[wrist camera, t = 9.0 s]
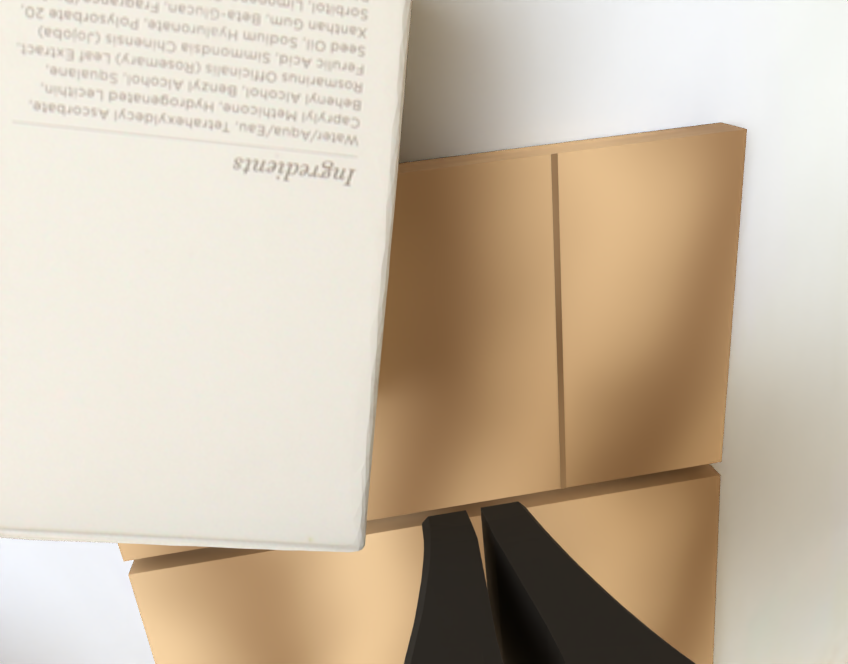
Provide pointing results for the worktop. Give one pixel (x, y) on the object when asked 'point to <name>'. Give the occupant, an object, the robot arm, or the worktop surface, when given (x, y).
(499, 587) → the robot arm
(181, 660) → the plank
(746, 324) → the worktop surface
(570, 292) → the laid board
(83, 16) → the small box
